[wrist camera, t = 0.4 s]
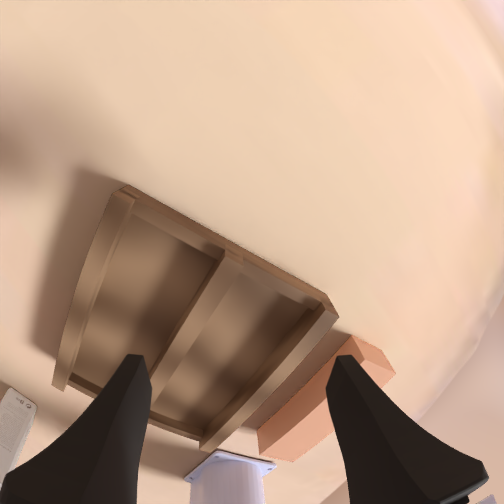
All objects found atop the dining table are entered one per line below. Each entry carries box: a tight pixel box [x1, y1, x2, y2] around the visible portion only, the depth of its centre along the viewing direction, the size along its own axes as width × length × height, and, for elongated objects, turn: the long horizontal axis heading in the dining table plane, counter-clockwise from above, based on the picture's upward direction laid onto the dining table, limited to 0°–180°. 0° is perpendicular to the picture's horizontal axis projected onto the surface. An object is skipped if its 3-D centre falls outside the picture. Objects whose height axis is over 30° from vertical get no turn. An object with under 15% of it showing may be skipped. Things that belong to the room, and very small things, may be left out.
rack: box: [52, 185, 339, 453], centre depth 21 cm, size 18×16×3 cm
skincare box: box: [0, 387, 37, 490], centre depth 20 cm, size 6×4×12 cm
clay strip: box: [257, 335, 396, 462], centre depth 25 cm, size 14×4×4 cm, turn 146°
